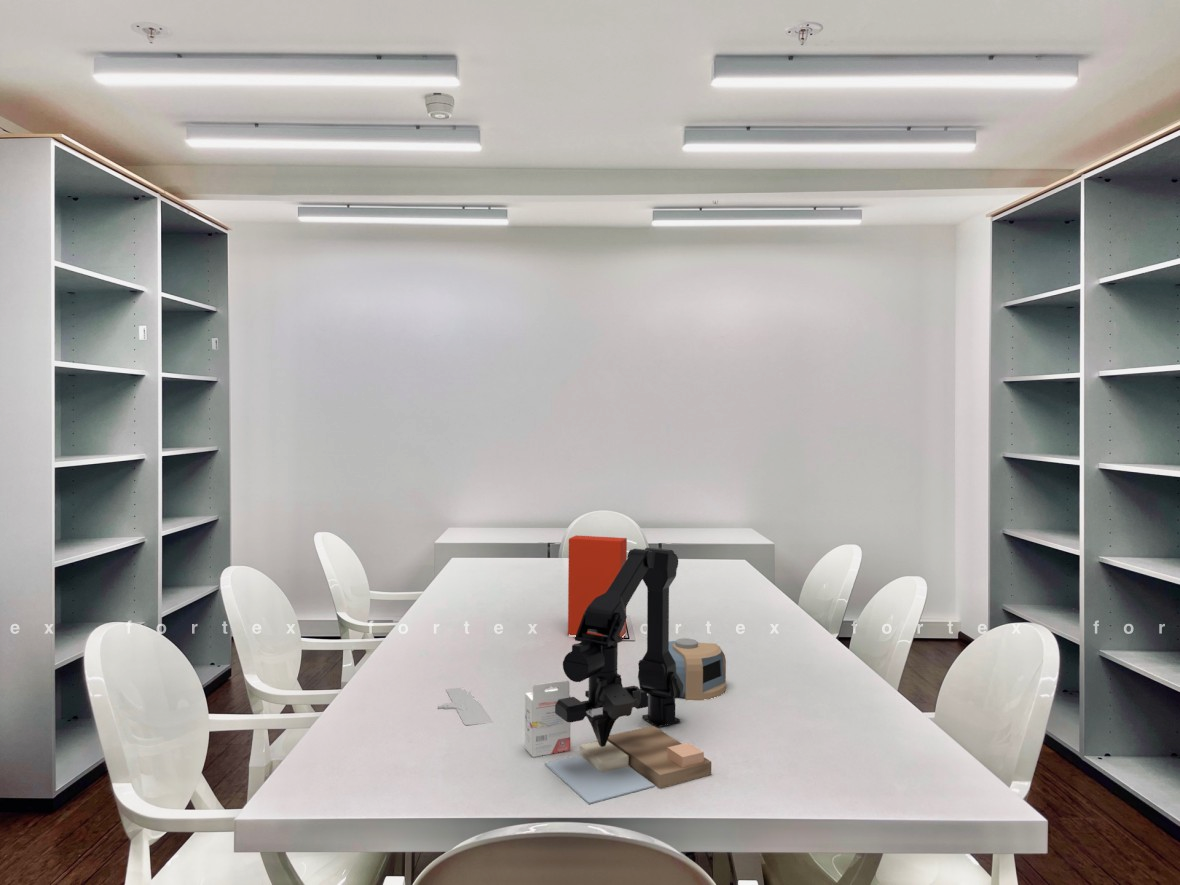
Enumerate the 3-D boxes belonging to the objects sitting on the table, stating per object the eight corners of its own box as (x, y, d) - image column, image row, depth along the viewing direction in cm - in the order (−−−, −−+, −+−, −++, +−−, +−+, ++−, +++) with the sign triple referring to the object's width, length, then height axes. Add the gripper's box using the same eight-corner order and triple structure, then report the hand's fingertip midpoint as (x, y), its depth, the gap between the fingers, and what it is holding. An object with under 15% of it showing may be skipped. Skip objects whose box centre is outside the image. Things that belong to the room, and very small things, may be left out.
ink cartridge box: (562, 742, 158) (562, 673, 158) (570, 751, 154) (571, 680, 154) (523, 748, 155) (524, 678, 155) (531, 758, 150) (532, 685, 150)
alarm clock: (697, 706, 180) (697, 656, 180) (633, 687, 194) (633, 640, 194) (739, 687, 194) (739, 641, 194) (676, 670, 208) (676, 627, 208)
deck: (605, 748, 155) (605, 736, 155) (653, 737, 161) (653, 725, 161) (659, 788, 138) (660, 775, 138) (711, 774, 144) (711, 761, 144)
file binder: (619, 642, 234) (620, 541, 234) (567, 637, 240) (568, 538, 239) (625, 636, 242) (627, 537, 242) (575, 631, 247) (576, 535, 247)
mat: (544, 764, 147) (544, 762, 147) (605, 750, 154) (605, 749, 154) (589, 804, 132) (589, 802, 132) (654, 786, 139) (654, 785, 139)
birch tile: (579, 754, 151) (579, 745, 151) (605, 748, 154) (605, 739, 154) (602, 772, 144) (602, 762, 144) (628, 766, 146) (628, 755, 146)
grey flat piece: (429, 692, 188) (430, 688, 188) (519, 685, 197) (519, 680, 197) (447, 730, 165) (447, 724, 165) (548, 719, 173) (548, 714, 173)
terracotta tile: (667, 757, 145) (667, 747, 145) (687, 752, 148) (688, 742, 148) (682, 767, 141) (682, 757, 141) (703, 762, 144) (703, 752, 143)
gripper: (581, 687, 137) (580, 772, 137) (664, 672, 146) (664, 751, 146) (554, 670, 147) (553, 749, 147) (634, 657, 156) (633, 731, 156)
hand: (602, 745), depth 149 cm, fingers closed
